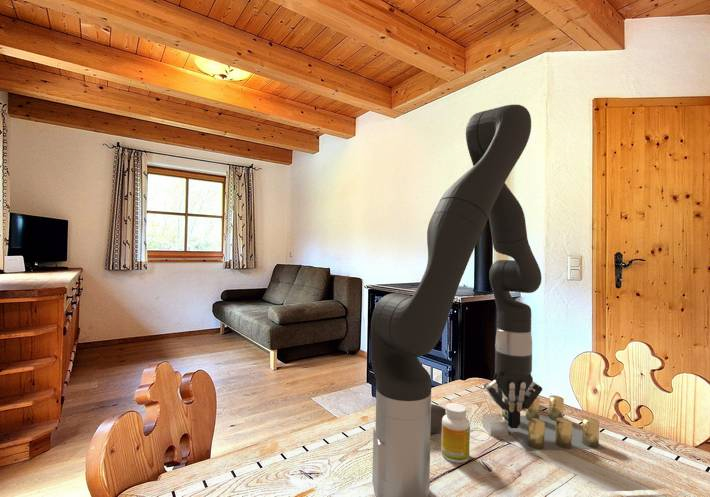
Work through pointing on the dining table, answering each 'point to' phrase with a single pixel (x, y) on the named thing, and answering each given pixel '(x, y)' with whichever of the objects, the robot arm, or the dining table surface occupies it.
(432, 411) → the perforated stone tool
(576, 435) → the mat
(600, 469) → the dining table surface
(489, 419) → the white faced textured brick
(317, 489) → the dining table surface
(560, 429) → the spacers
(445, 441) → the supplement bottle
